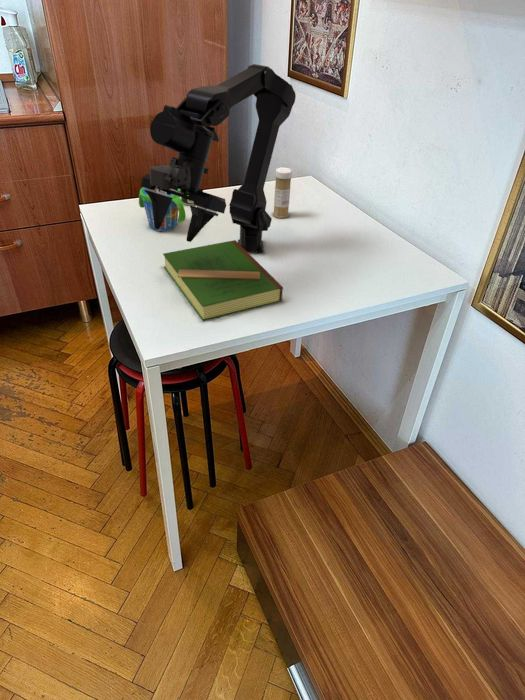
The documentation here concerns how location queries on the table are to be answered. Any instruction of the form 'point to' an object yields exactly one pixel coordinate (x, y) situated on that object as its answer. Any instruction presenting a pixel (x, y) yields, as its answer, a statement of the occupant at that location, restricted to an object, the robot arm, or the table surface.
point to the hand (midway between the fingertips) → (172, 235)
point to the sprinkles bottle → (282, 192)
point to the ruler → (219, 274)
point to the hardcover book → (222, 280)
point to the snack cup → (171, 214)
